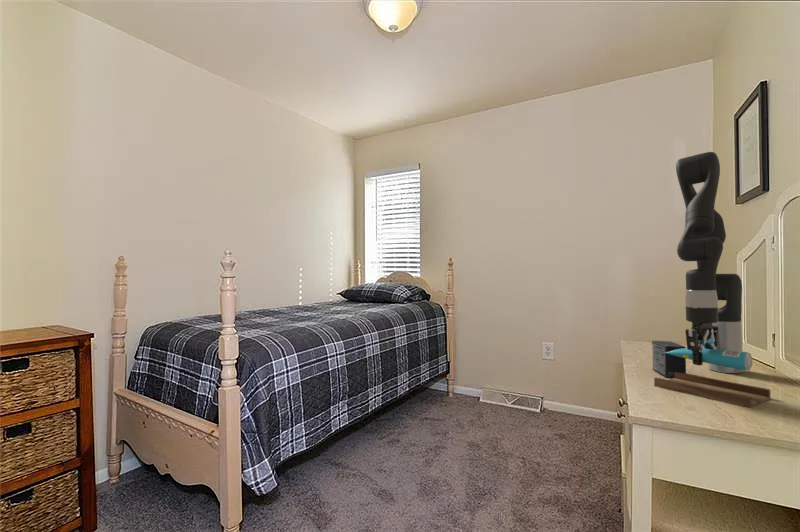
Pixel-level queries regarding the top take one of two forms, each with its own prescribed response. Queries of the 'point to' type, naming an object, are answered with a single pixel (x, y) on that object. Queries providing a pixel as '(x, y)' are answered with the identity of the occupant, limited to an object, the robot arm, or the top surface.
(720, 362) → the tube
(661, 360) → the small box
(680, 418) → the top surface
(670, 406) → the top surface
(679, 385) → the brown wooden tray
